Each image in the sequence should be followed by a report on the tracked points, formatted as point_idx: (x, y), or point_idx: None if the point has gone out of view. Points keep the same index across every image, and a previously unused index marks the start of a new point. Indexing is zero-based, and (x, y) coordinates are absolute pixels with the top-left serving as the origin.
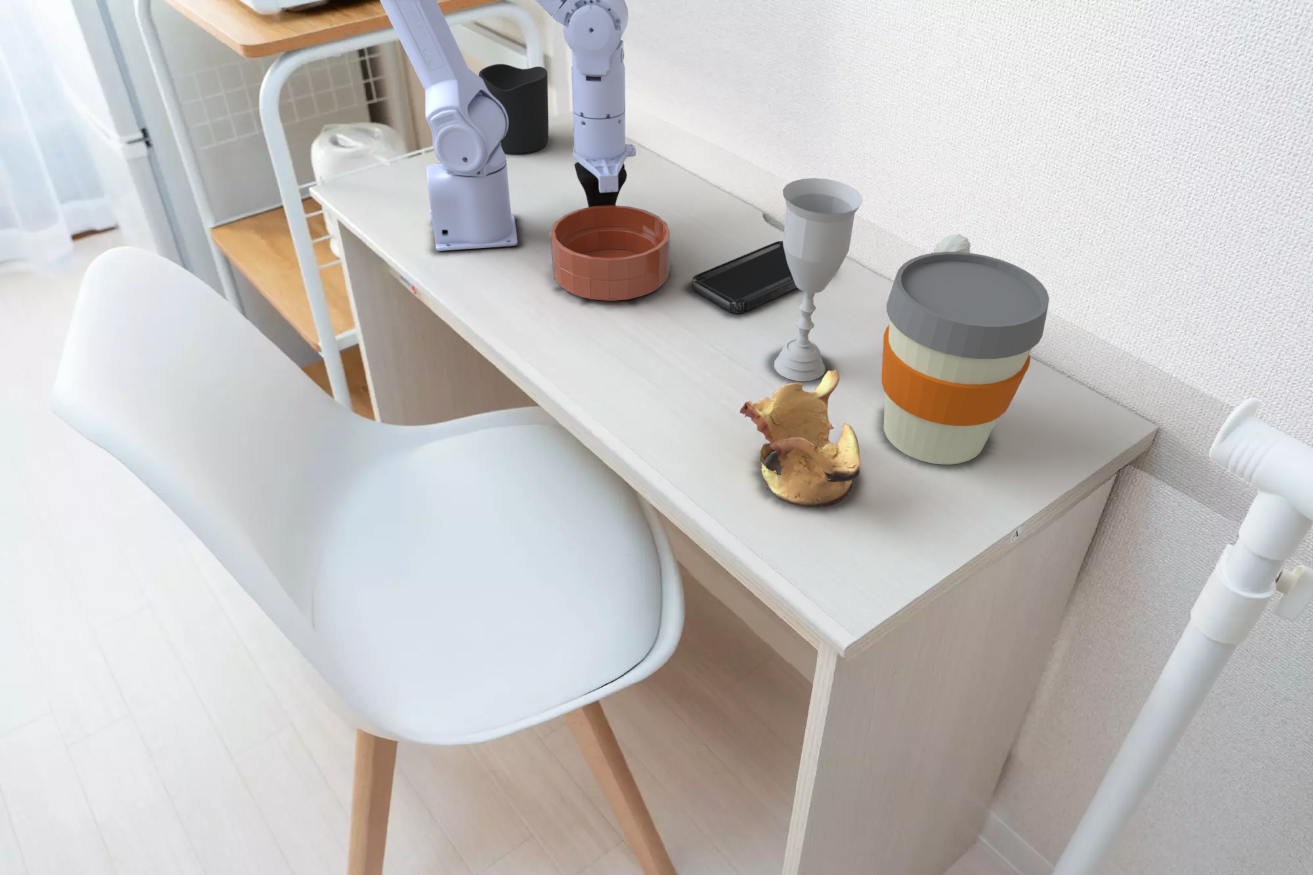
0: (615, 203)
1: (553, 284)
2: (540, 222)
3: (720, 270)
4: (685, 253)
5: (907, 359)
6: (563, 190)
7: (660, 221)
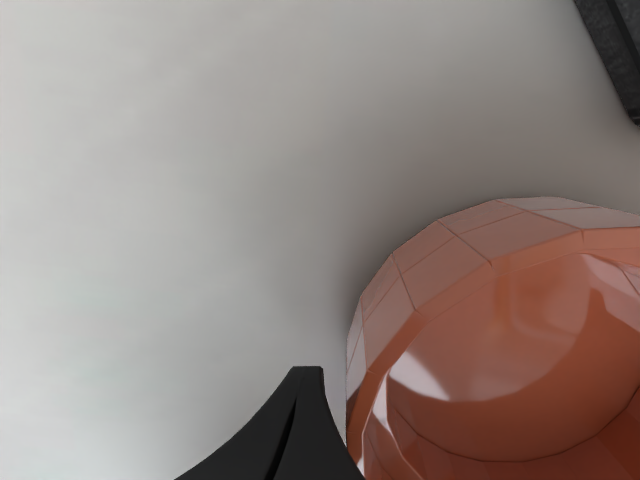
0: (332, 417)
1: None
2: None
3: (637, 6)
4: (402, 121)
5: None
6: (15, 410)
7: (552, 258)
